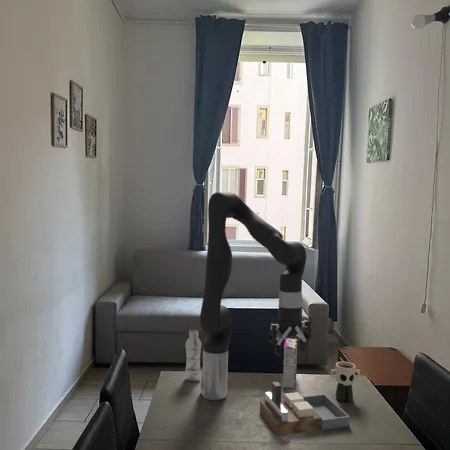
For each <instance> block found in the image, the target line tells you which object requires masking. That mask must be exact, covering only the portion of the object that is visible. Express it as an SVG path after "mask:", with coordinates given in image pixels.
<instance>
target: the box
mask: <svg viewBox="0 0 450 450" xmlns="http://www.w3.org/2000/svg"><path fill="white" fill-rule="evenodd" d="M302 397H303V398H304V401H307V402H308V403H309V404H310V405H311V406H312V407H313V408H314V411H315V412H316V413H317V414H318V415H319V416H320V417H321V418H322V425H321V430H320V431H323V432H324V431H330V430H338V429H344V428H351V426H350V425H351V416H350V414H348V413H347V412H345V410H344V409H342V408H341V407H340V406H339V405H337V404H336V403H335V402H334V401H333V400H332V399H331V398H330V397H329V396H328V395H326V394H325V393H324V394H322V393H321V394H315V395H314V394H312V395H305V396H302Z"/></svg>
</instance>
